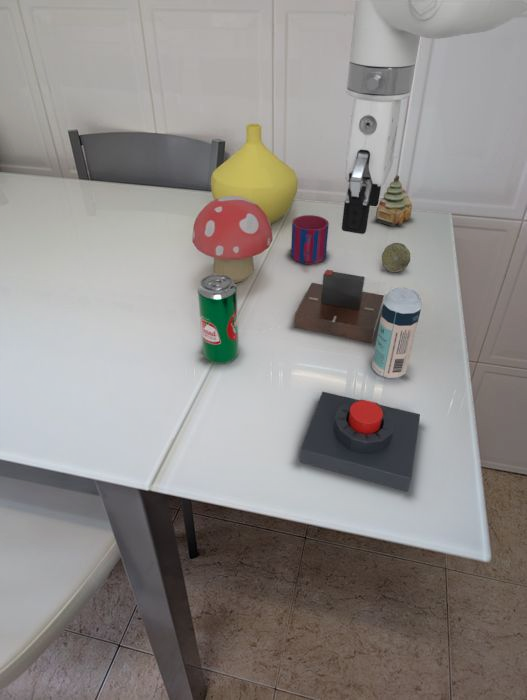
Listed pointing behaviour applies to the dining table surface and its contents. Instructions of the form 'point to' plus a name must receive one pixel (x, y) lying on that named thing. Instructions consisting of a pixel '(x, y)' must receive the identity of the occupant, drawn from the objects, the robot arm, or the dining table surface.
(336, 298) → the dark upright slab
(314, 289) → the knob panel
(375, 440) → the button box
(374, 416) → the button
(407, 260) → the lime
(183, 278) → the dining table surface
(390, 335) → the beer can
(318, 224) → the cup
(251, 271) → the decorative mushroom
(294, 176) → the vase
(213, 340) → the soda can
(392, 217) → the ornament
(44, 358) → the dining table surface
